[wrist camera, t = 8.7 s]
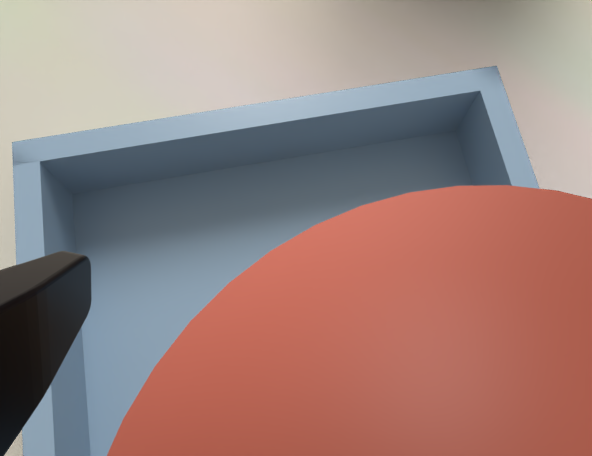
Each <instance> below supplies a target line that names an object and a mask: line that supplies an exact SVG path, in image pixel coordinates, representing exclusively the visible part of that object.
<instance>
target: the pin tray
mask: <svg viewBox="0 0 592 456" xmlns="http://www.w3.org/2000/svg"><path fill="white" fill-rule="evenodd" d="M12 152H13V180H14V209H15V237H16V265H18V264H21V263H25V262H28V261H31V260H34V259H37V258H40V257H43V256H47V255H50V254H53V253H56V252H59V251H68V252H72V253H77V254H82V255H86V256H87V257H88V258H89V259H90V262H91V297H92V299H91V307H90V311H89V313H88V316H87V318H86V319H85V321H84V323H83V325H82V327H81V329H80V331H79V333H78V334H77V336H76V338H75V340H74V342H73V344H72V346H71V348H70V349H69V351H68V353H67V355H66V357H65V359H64V361H63V363H62V364H61V366H60V368H59V370H58V372H57V374H56V376H55V378H54V379H53V381H52V383H51V385H50V387H49V388H48V390H47V392H46V394H45V395H44V397H43V399H42V400H41V402H40V403H39V405H38V406H37V408H36V409H35V411H34V412H33V414H32V415H31V417H30V418H29V420H28V421H27V423H26V424H25V425H24V427H23V428H22V436H23V456H107V454H108V452H109V449H110V447H111V445H112V443H113V441H114V438H115V436H116V434H117V432H118V429H119V427H120V425H121V423H122V421H123V418H124V417H125V415H126V413H127V412H128V410H129V408H130V407H131V405H132V403H133V402H134V400H135V398H136V397H137V395H138V393H139V392H140V390H141V389H142V387H143V385H144V384H145V382H146V380H147V379H148V377H149V375H150V374H151V372H152V370H153V369H154V367H155V366H156V364H157V363H158V362H159V361H160V359H161V358H162V357H163V355H164V354H165V353H166V352H167V350H168V349H169V348H170V346H171V345H172V344H173V343H174V341H175V340H176V339H177V338H178V336H179V335H180V334H181V332H182V331H183V330H184V329H185V327H186V326H187V325H188V323H189V322H190V321H191V320H192V319H193V318H194V317H195V316H196V315H197V314H198V313H199V312H200V311H201V310H202V309H203V308H204V307H205V306H206V305H207V304H208V303H209V302H210V301H211V300H212V299H213V298H214V297H215V296H216V295H217V294H218V293H219V292H220V291H221V290H222V289H223V288H224V287H225V286H226V285H227V284H228V283H229V282H231V281H232V280H233V279H235V278H236V277H237V276H239V275H240V274H241V273H242V272H244V271H245V270H246V269H248V268H249V267H250V266H252V265H253V264H254V263H255V262H257V261H258V260H259V259H261V258H262V257H263V256H265V255H266V254H267V253H268V252H270V251H271V250H273V249H275V248H276V247H278V246H280V245H282V244H283V243H285V242H287V241H288V240H290V239H292V238H294V237H295V236H297V235H299V234H300V233H302V232H304V231H306V230H307V229H309V228H311V227H312V226H314V225H316V224H319V223H321V222H323V221H326V220H328V219H331V218H333V217H335V216H338V215H340V214H343V213H345V212H347V211H350V210H352V209H354V208H357V207H359V206H362V205H365V204H369V203H373V202H376V201H380V200H384V199H387V198H391V197H395V196H398V195H402V194H406V193H409V192H417V191H424V190H431V189H438V188H445V187H453V186H480V185H510V186H519V187H528V188H537V189H539V186H538V183H537V180H536V177H535V174H534V172H533V169H532V166H531V163H530V160H529V157H528V154H527V151H526V149H525V146H524V143H523V140H522V137H521V134H520V131H519V128H518V126H517V123H516V120H515V117H514V114H513V111H512V108H511V106H510V103H509V100H508V97H507V94H506V91H505V88H504V85H503V83H502V80H501V77H500V74H499V71H498V68H497V66H492V67H486V68H479V69H473V70H467V71H460V72H454V73H448V74H441V75H435V76H429V77H422V78H416V79H410V80H403V81H397V82H391V83H384V84H378V85H372V86H365V87H359V88H353V89H346V90H340V91H333V92H327V93H321V94H314V95H308V96H302V97H295V98H289V99H283V100H276V101H270V102H264V103H257V104H251V105H245V106H238V107H232V108H226V109H219V110H213V111H207V112H200V113H194V114H188V115H181V116H175V117H169V118H162V119H156V120H150V121H143V122H137V123H131V124H124V125H118V126H112V127H105V128H99V129H92V130H86V131H80V132H73V133H67V134H61V135H54V136H48V137H42V138H35V139H29V140H23V141H16V142H12Z"/></svg>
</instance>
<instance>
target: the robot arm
mask: <svg viewBox="0 0 592 456" xmlns="http://www.w3.org/2000/svg"><path fill="white" fill-rule="evenodd" d="M91 299H92V297H91V262H90V259H89V258H88V257H87V256H86V255H82V254H77V253H72V252H68V251H59V252H56V253H53V254H50V255H47V256H43V257H40V258H37V259H34V260H31V261H28V262H25V263H21V264H18V265H15V266H12V267H9V268H6V269H2V270H0V456H4V455H5V453H6V452H7V450H8V449H9V447H10V446H11V444H12V443H13V441H14V440H15V439H16V437H17V436H18V434H19V433H20V431H21V430H22V428H23V427H24V425H25V424H26V423H27V421H28V420H29V418H30V417H31V415H32V414H33V412H34V411H35V409H36V408H37V406H38V405H39V403H40V402H41V400H42V399H43V397H44V395H45V394H46V392H47V390H48V388H49V387H50V385H51V383H52V381H53V379H54V378H55V376H56V374H57V372H58V370H59V368H60V366H61V364H62V363H63V361H64V359H65V357H66V355H67V353H68V351H69V349H70V348H71V346H72V344H73V342H74V340H75V338H76V336H77V334H78V333H79V331H80V329H81V327H82V325H83V323H84V321H85V319H86V318H87V316H88V313H89V311H90V307H91Z"/></svg>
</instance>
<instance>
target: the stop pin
mask: <svg viewBox="0 0 592 456" xmlns="http://www.w3.org/2000/svg"><path fill="white" fill-rule="evenodd" d="M107 456H592V199H590V198H586V197H581V196H577V195H573V194H569V193H564V192H560V191H555V190H546V189H537V188H528V187H519V186H510V185H480V186H453V187H445V188H438V189H431V190H424V191H417V192H409V193H406V194H402V195H398V196H395V197H391V198H387V199H384V200H380V201H376V202H373V203H369V204H365V205H362V206H359V207H357V208H354V209H352V210H350V211H347V212H345V213H343V214H340V215H338V216H335V217H333V218H331V219H328V220H326V221H323V222H321V223H319V224H316V225H314V226H312V227H311V228H309V229H307V230H306V231H304V232H302V233H300V234H299V235H297V236H295V237H294V238H292V239H290V240H288V241H287V242H285V243H283V244H282V245H280V246H278V247H276V248H275V249H273V250H271V251H270V252H268V253H267V254H266V255H265V256H263V257H262V258H261V259H259V260H258V261H257V262H255V263H254V264H253V265H252V266H250V267H249V268H248V269H246V270H245V271H244V272H242V273H241V274H240V275H239V276H237V277H236V278H235V279H233V280H232V281H231V282H229V283H228V284H227V285H226V286H225V287H224V288H223V289H222V290H221V291H220V292H219V293H218V294H217V295H216V296H215V297H214V298H213V299H212V300H211V301H210V302H209V303H208V304H207V305H206V306H205V307H204V308H203V309H202V310H201V311H200V312H199V313H198V314H197V315H196V316H195V317H194V318H193V319H192V320H191V321H190V322H189V323H188V325H187V326H186V327H185V329H184V330H183V331H182V332H181V334H180V335H179V336H178V338H177V339H176V340H175V341H174V343H173V344H172V345H171V346H170V348H169V349H168V350H167V352H166V353H165V354H164V355H163V357H162V358H161V359H160V361H159V362H158V363H157V364H156V366H155V367H154V369H153V370H152V372H151V374H150V375H149V377H148V379H147V380H146V382H145V384H144V385H143V387H142V389H141V390H140V392H139V393H138V395H137V397H136V398H135V400H134V402H133V403H132V405H131V407H130V408H129V410H128V412H127V413H126V415H125V417H124V418H123V421H122V423H121V425H120V427H119V429H118V432H117V434H116V436H115V438H114V441H113V443H112V445H111V447H110V449H109V452H108V454H107Z"/></svg>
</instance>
